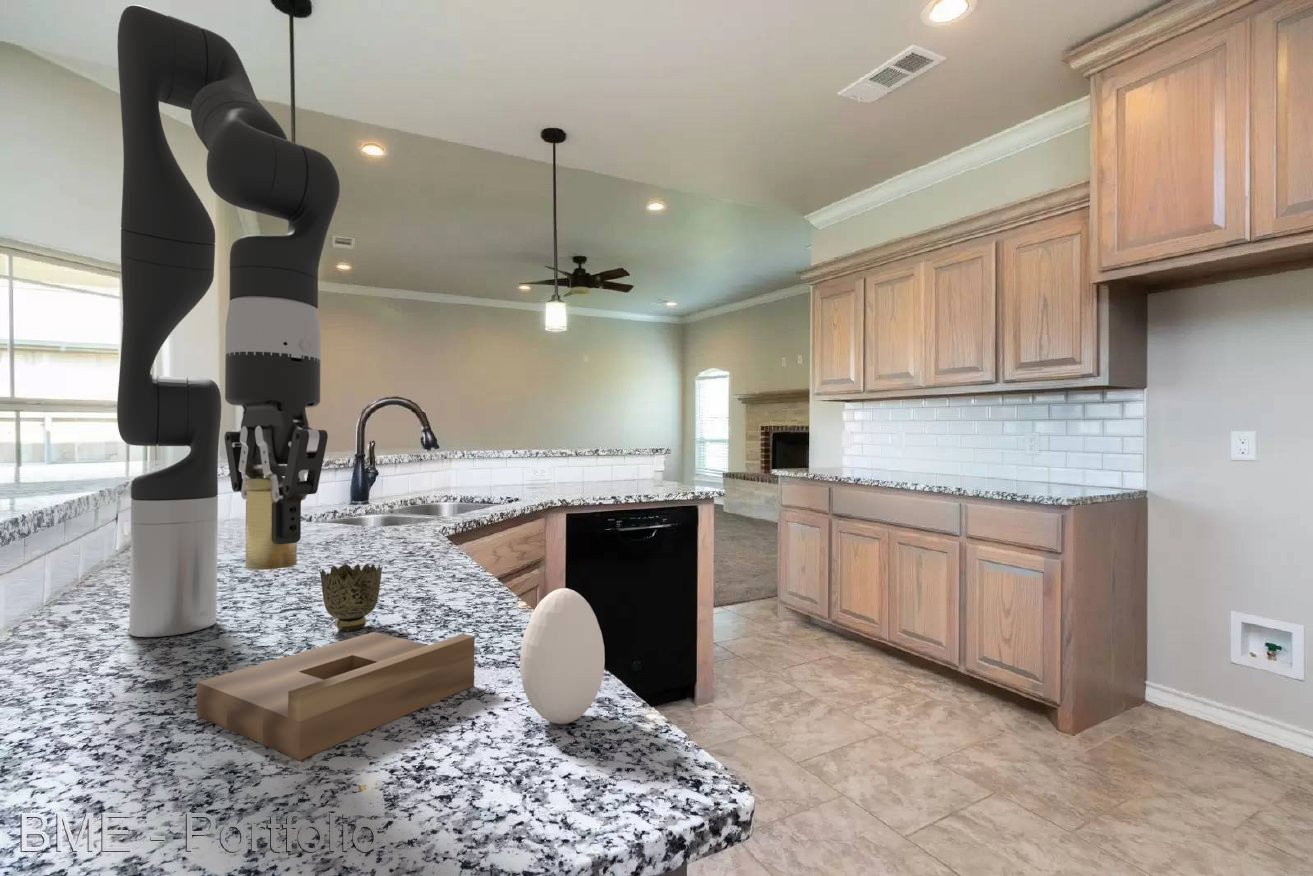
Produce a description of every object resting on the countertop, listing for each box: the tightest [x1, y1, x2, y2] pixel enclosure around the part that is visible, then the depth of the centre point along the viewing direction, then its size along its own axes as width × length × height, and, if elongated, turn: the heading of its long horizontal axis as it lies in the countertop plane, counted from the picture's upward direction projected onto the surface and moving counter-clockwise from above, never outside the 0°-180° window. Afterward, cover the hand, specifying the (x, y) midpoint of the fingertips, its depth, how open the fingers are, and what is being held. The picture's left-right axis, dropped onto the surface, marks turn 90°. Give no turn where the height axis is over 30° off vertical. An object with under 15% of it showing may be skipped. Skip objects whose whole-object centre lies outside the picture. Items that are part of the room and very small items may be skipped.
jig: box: [196, 631, 476, 761], centre depth 61 cm, size 16×18×5 cm
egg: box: [519, 587, 606, 725], centre depth 57 cm, size 7×7×12 cm
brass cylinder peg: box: [245, 476, 298, 571], centre depth 59 cm, size 4×4×8 cm
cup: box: [319, 563, 383, 632], centre depth 85 cm, size 8×7×8 cm
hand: (273, 540), depth 59 cm, fingers closed on brass cylinder peg, 4 cm apart
